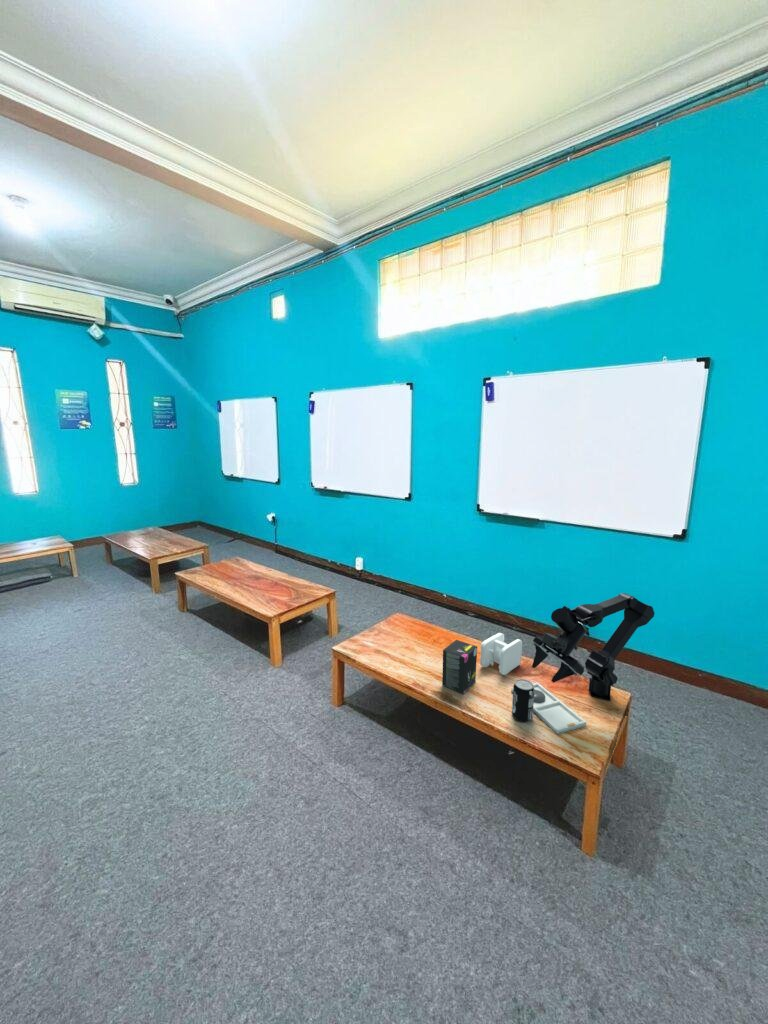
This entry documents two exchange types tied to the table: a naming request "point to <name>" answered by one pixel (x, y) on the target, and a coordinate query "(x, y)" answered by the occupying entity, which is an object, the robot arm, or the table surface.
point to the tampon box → (459, 666)
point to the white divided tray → (554, 711)
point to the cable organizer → (501, 653)
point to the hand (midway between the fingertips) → (542, 674)
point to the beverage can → (523, 700)
